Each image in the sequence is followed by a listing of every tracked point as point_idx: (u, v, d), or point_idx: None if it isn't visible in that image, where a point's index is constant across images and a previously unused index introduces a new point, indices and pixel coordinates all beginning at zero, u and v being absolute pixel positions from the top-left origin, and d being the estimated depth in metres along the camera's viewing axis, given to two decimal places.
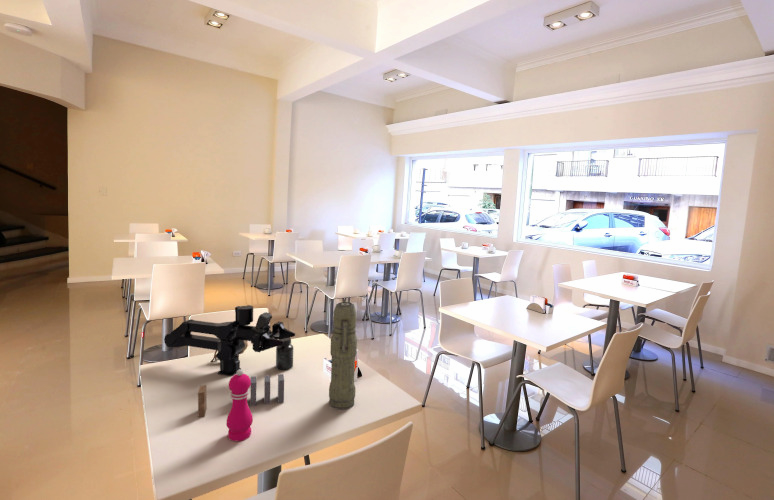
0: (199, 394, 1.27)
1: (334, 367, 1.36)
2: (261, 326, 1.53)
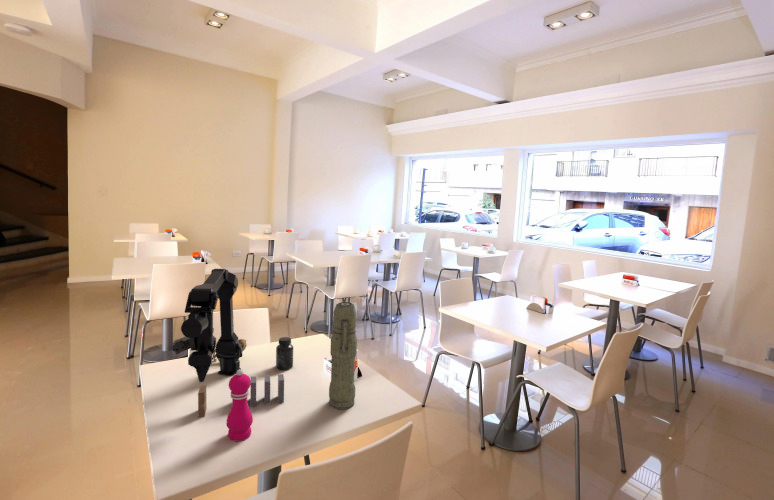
0: (199, 394, 1.27)
1: (334, 367, 1.36)
2: None
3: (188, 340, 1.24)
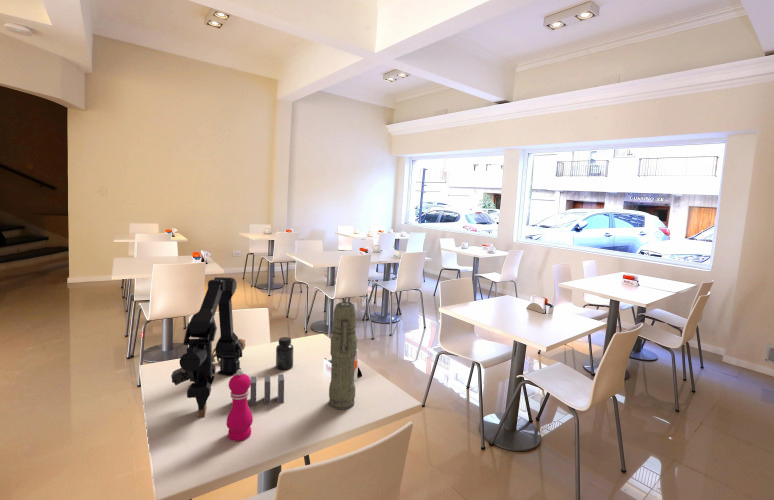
0: None
1: (334, 367, 1.36)
2: None
3: (187, 371, 1.25)
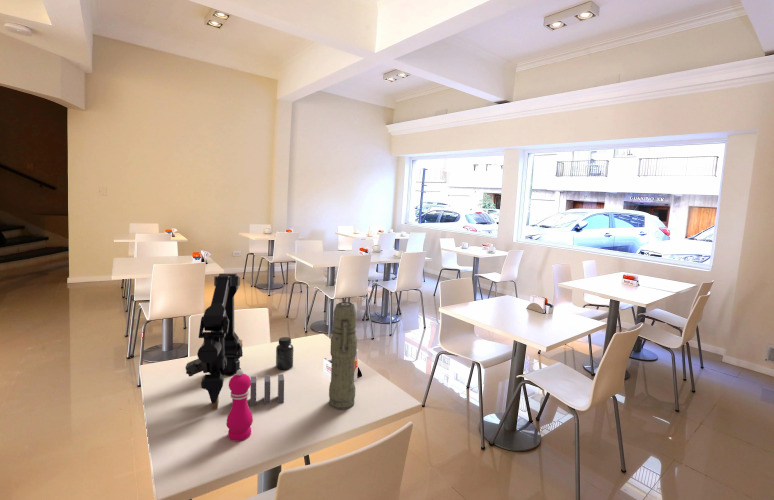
0: None
1: (334, 367, 1.36)
2: None
3: (201, 363, 1.30)
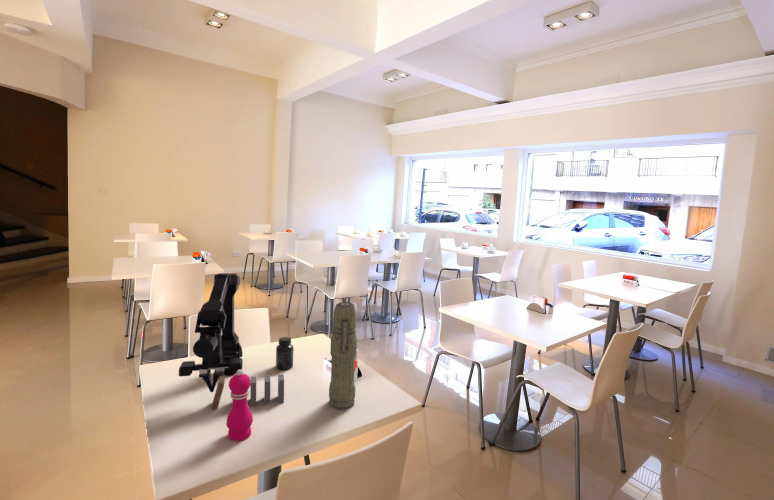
0: (219, 386, 1.32)
1: (334, 367, 1.36)
2: None
3: None
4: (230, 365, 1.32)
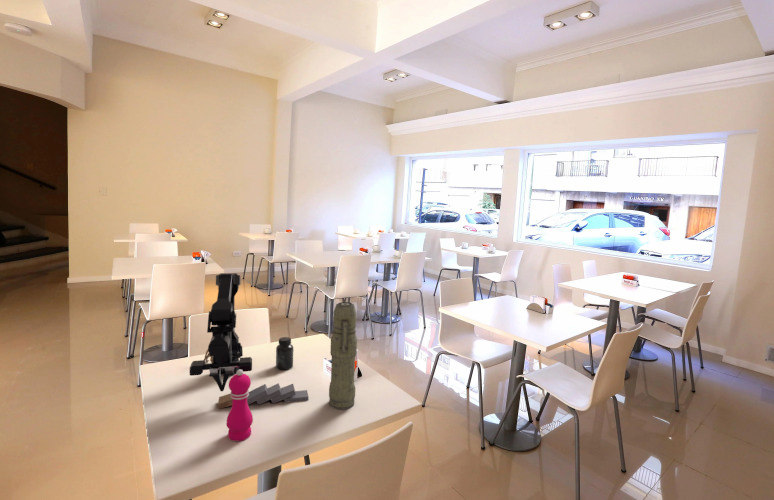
0: None
1: (334, 367, 1.36)
2: None
3: None
4: (240, 364, 1.33)
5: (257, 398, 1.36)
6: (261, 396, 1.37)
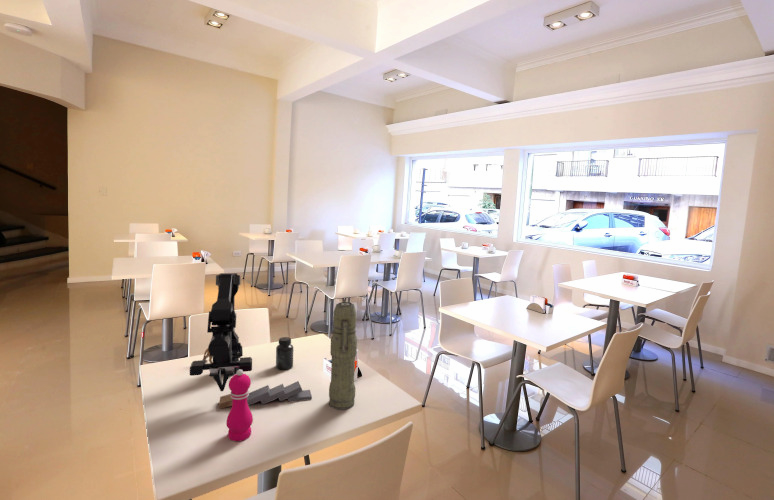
0: None
1: (334, 367, 1.36)
2: None
3: None
4: (240, 364, 1.33)
5: (259, 399, 1.36)
6: (263, 397, 1.37)
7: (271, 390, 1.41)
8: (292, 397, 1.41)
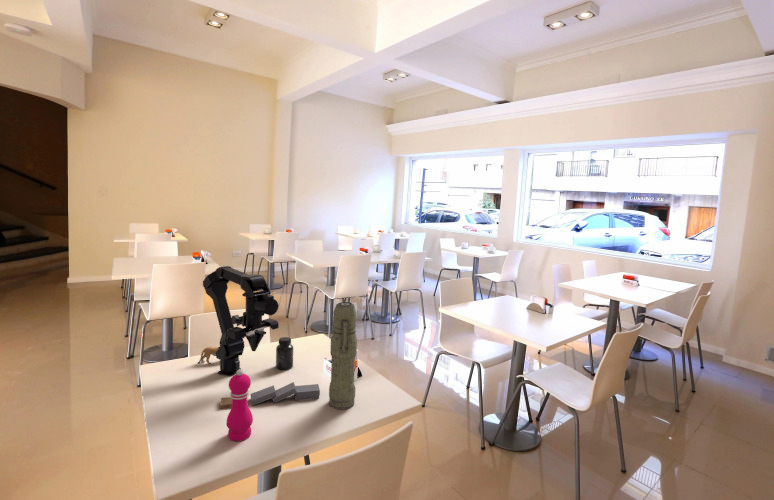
0: None
1: (334, 367, 1.36)
2: None
3: (242, 317, 1.50)
4: (271, 323, 1.53)
5: (266, 398, 1.38)
6: (270, 397, 1.38)
7: (282, 389, 1.42)
8: None
